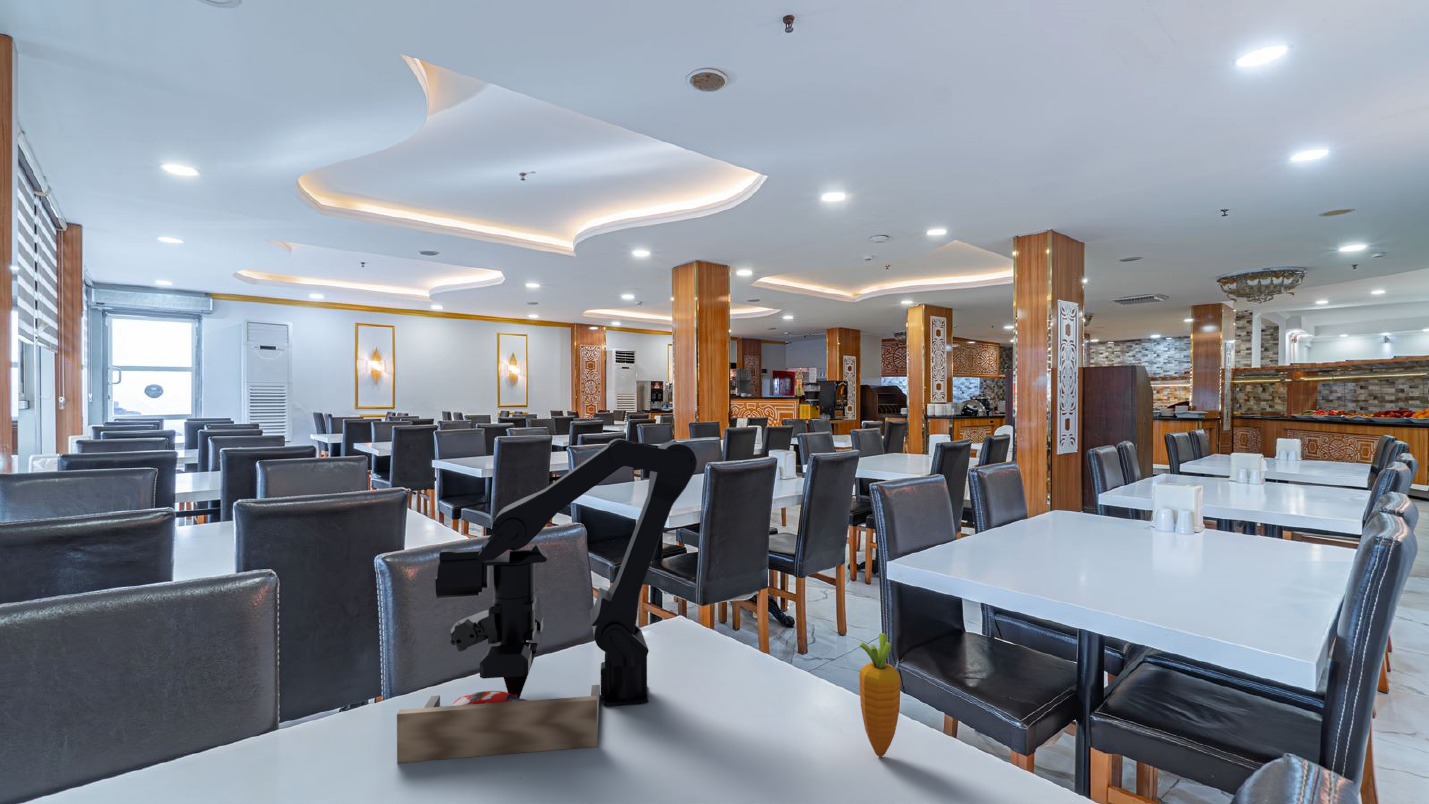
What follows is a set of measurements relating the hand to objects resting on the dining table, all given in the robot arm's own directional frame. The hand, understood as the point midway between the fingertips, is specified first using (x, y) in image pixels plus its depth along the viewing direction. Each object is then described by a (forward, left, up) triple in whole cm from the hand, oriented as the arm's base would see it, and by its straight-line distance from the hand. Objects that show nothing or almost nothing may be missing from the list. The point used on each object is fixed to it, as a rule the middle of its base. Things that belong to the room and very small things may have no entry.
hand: (514, 700), depth 94 cm
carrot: (-47, +21, -1) cm, 51 cm away
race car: (+2, +4, -2) cm, 5 cm away
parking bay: (0, +6, -1) cm, 6 cm away
